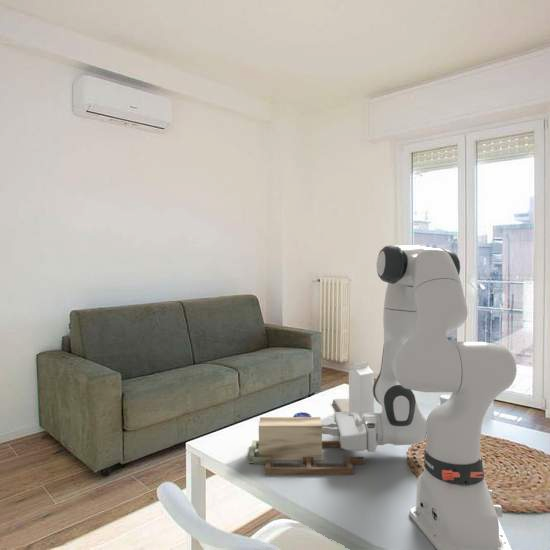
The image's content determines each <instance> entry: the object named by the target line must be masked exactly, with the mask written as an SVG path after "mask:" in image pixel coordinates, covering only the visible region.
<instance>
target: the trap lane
mask: <svg viewBox="0 0 550 550" xmlns="http://www.w3.org/2000/svg"><path fill="white" fill-rule="evenodd" d="M256 446H259V440H252V443H251V447H250V452H249V457H248V464H249V463H254V464H253V465H257V464H256V463H259V464H258V465H265V467H264V469H265V470H264V474H265V475H305V476H306V475H309V476H310V475H312V476H314V475H317V476H318V475H322V476H323V475H324V476H326V475H327V476H329V475H330V476H331V475H333V476H334V475H335V476H336V475H337V476H338V475H346V476H347V475H348V476H349V475H352V476H353V475H354V466H353V465H365V462H364V461H365V458H364V457H363V456H345V463H342V462H341V463H340V462H339V463H338V462H337V463H336V462H335V463H334V462H333V463H331V462H327V463H323V462H322V463H320V462H316V463H315V460H314V458H313V457H303V460H302V464H301V462H292V463H291V462H285V463H284V462H283V463H282V462H273V463H272V460H271V457H259V456H255V455H256V451H257V447H256ZM322 448H341V445H340V442H339V440H322ZM255 450H256V451H255ZM254 456H255V457H254ZM271 463H272V464H271ZM314 464H315V466H312V465H314ZM302 465H306V466H302ZM345 465H346V466H345Z"/></svg>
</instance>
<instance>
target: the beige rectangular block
mask: <svg viewBox="0 0 550 550" xmlns="http://www.w3.org/2000/svg"><path fill="white" fill-rule="evenodd" d="M321 419H322V418H321V417H320V416H317V417H316V416H311V417H293V416H289V417H288V416H287V417H286V416H282V417H281V416H276V417H275V416H272V417H271V416H269V417H268V416H262V417H261V416H260V417H259V423H258V441H259V447H258V457H271V461H277V460H278V461H303V457H313V458H314V461H323V447H322V441H323V434H322V424H323V423H322V420H321Z"/></svg>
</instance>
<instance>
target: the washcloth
mask: <svg viewBox="0 0 550 550" xmlns="http://www.w3.org/2000/svg"><path fill="white" fill-rule="evenodd" d="M333 403H334V404H333ZM332 404H333V406H334V407H335V406H336V407H335V409H336V408H337V409H336V410H337V412H338V411H339V412H349V398H334V399H332Z"/></svg>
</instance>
